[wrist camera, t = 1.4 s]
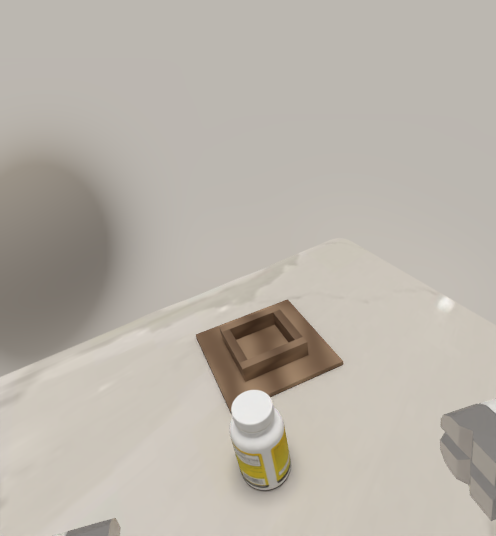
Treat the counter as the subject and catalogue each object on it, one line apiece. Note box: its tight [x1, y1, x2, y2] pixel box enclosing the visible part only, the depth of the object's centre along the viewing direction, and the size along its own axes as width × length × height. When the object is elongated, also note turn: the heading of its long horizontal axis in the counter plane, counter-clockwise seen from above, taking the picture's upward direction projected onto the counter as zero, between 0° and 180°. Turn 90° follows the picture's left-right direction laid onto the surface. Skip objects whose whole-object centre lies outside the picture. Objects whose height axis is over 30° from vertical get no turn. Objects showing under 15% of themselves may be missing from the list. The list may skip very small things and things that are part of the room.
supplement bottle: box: [230, 390, 291, 490], centre depth 40 cm, size 5×5×10 cm
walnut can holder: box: [196, 300, 343, 414], centre depth 56 cm, size 16×16×3 cm
